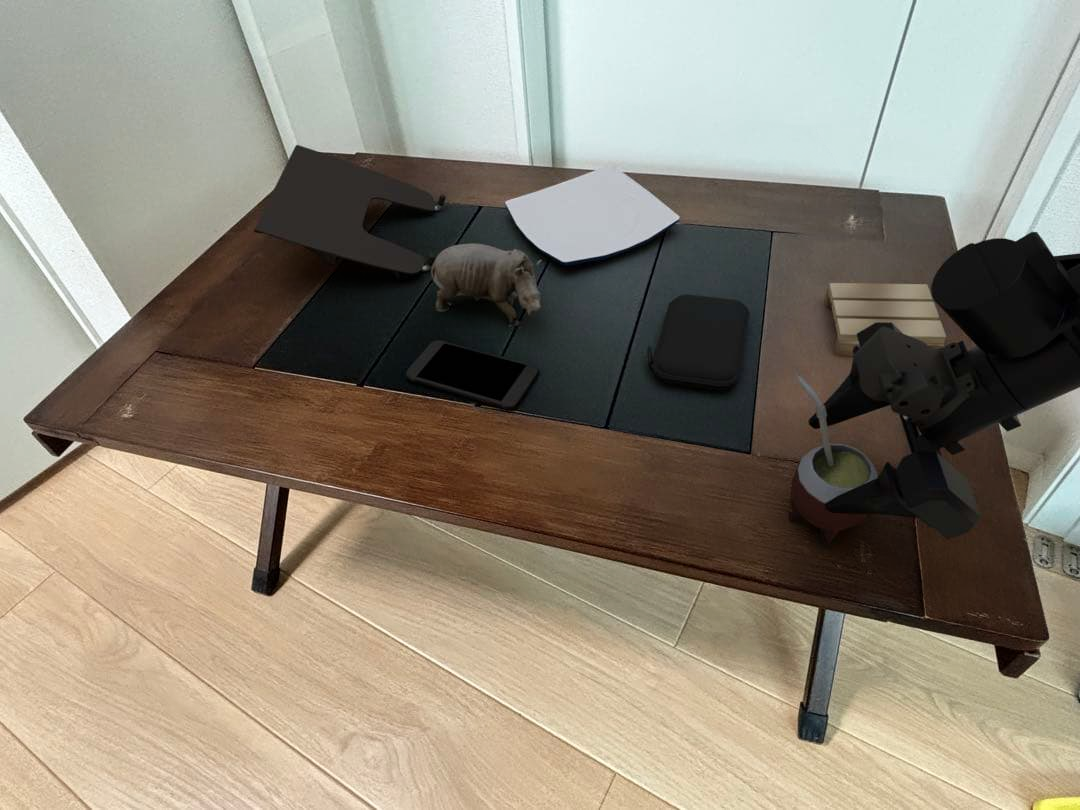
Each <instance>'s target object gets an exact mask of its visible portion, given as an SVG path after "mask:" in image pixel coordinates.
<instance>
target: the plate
mask: <svg viewBox="0 0 1080 810" xmlns="http://www.w3.org/2000/svg"><path fill="white" fill-rule="evenodd" d="M504 205H505V207H506V210H507V211H508V213H509V215H510V217H511V218H512V221H513V222H514V224H515V226H516V227H517V229H518V230H519V231H520V233H521V234H522V235H523V237H524V238H525V239H526V240H527V241H528V242H529V243H531V245H533V246H534V248H536V249H537V250H538V251H539V252H540V253H542V254H543V255H546V256H547V257H549V258H550V259H552V260H553V261H556V262H558V263H559V264H561V265H563V266H566V267H570V266H571V267H572V266H575V265H580V264H586V263H591V262H597V261H600V260H605V259H609V258H611V257H614V256H616V255H619V254H622V253H625V252H628V251H630V250H633V249H634V248H637V247H639V246H642V245H645V244H647V243H649V242H650V241H651V240H653V239H655V238H656V237H658V236H660V235H661V234H663V233H664V232H666V231H667V230H669V229H670V228H672V227H673V226H675V225H676V224H677V223H679V222H680V220H681V216H680V215H678V214H677V213H676V212H675V211H673V210H672V209H671V208H670V207H668V206H667V204H665V203H663V201H662V200H660V199H659V198H658V197H656V196H655V195H654V194H652V192H650V191H649V190H648V189H646V188H645V187H643V186H642V185H641V184H639V183H638V182H636V180H634V179H632V178H631V177H630V176H628V174H626V173H625V172H623V171H622V170H620V168H617V166H615V165H614V164H607V165H606V166H603V167H601V168H600V167H599V168H597V169H595V170H593V171H590V172H588V173H584V174H581V175H579V176H576V177H573V178H571V179H568V180H565V181H563V182H559V183H557V184H555V185H551V186H548V187H545V188H542V189H540V190H536V191H533V192H530V193H526V194H523V195H521V196H518V197H515V198H511V199H508V200H506V201H505V202H504Z"/></svg>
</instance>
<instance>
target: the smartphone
mask: <svg viewBox="0 0 1080 810" xmlns="http://www.w3.org/2000/svg"><path fill="white" fill-rule="evenodd" d="M539 375H540V369H539V367H538V366H537V365H535V364H531V363H527V362H524V361H520V360H516V359H513V358H510V357H505V356H502V355H498V354H495V353H491V352H486V351H482V350H478V349H475V348H472V347H468V346H463V345H460V344H456V343H453V342H449V341H444V340H440V339H438V340H433V341H431V342H430V343H429V344H428V345H427V346H426V347H425V349H424V350H423V351H422V352H421V353H420V354H419V355H418V357H417V358H416V359H415V360H414V362H412V363H411V365H410V366H409V367H408V368H407V370H406V371H405V378H406V379H407V380H408V381H410V382H413V383H417V384H420V385H423V386H425V387H430V388H433V389H437V390H440V391H443V392H446V393H449V394H453V395H456V396H460V397H464V398H467V399H470V400H473V401H477V402H480V403H484V404H488V405H491V406H495V407H497V408H501V409H505V410H513V409H515V408H517V407H518V406H519V404H520V403H521V402H522V400H523V399H524V397H525V396H526V394H527V393H528V391H529V390H530V388H531V387H532V386H533V383H535V381H536V380H537V378H538V376H539Z"/></svg>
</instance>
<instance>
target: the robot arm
mask: <svg viewBox="0 0 1080 810" xmlns="http://www.w3.org/2000/svg"><path fill="white" fill-rule="evenodd" d="M930 289H931V290H930V293H931V296H932V301H933V302H934V303H935V304H937V305H938V306H939V308H940V309H941V310H942V311H943V312H944V313H945V314H946V315H947V316H948V317H949V318H950V319H951V320H952V321H953V322H954V323H955V324H956V325H957V327H958V328H959V329H960V330H962V332H963V333H964V334H965V335H966V336H967V338H969V339H970V341H972V342H973V343H974V344H975V345H976V346H974V347H972V348H971V347H969V345H968V344H967V343H966V342H965V341H964V340H961V341H958V342H957V341H954V342H951V343H948V344H946V345H944V347H943V348H939V349H934V348H932V347H930V346H928V345H927V344H926V343H924V342H922V341H920V340H918V339H915V338H913V337H910V336H908V335H905V334H903V333H902V332H901V331H900V330H899V329H898V328H897V327H896V326H895V325H894V324H893V323H885V322H876V323H874V324H872V325H871V326H869V327H867V328H866V329H864V330H862V331H860V332H859V333H857V337H858V341H859V344H860V347H859V346H857V345H856V346H855V347H854V348H853V356H852V362H851V369H850V372H849V374H848V375H847V376H846V378H845V379H844V380H843V382H842V383H841V384H840V385H839V387H838V388H837V389H836V390H834V392H833V393H832V395H830V397H829V398H827V399H826V401H825V402H824V403H822V405H824V406H825V409H826V413H827V417H826V422H827V427H831V426H834V425H837V424H839V423H843V422H845V421H848V420H852V419H854V418H858V417H860V416H862V415H866V414H868V413H869V414H870V413H871V412H874V411H878V410H880V409H883V408H885V407H888V406H890V409H891V411H892V412H893V413H896V414H898V415H899V418H900V422H901V425H902V427H903V431H904V434H905V437H906V440H907V444H908V446H909V451H910V453H909V454H907V455H905V456H903V457H902V458H901V460H900V461H899V463H898V464H897V466H896V467H895V466H894V465H893V464H892V463H890V462H889V461H886V462H885V463H884V465H883V468H882V469H881V472H880V473H879V475H878V478H876V479H874V480H872V481H869V482H867V483H865V484H863V485H861V486H858V487H856V488H854V489H852V490H849V491H847V492H845V493H843V494H841V495H838V496H837V497H835V498H833V499H832V500H830V501H828V502H827V503H825V505H824V506H825V509H826V510H828V511H829V512H831V513H841V514H868V515H879V516H880V515H883V516H884V515H885V516H896V517H905V518H913V519H919V520H920V521H921V522H922V523H924V524H925V525H926V526H927V527H928V528H930V529H934V530H935V531H936V532H938V533H939V534H940V535H941V536H943V537H944V538H945V539H946V540H950V539H953V538H956V537H958V536H961V535H963V534H967V533H970V532H971V531H972V530H973V529H974V528H975V527H976V526H977V524H978V523H979V521H980V519H981V518H982V516H981V513H980V510H979V508H978V504H977V503H976V500H975V497H974V494H973V492H972V488H971V486H970V483H969V481H968V479H967V478H966V477H965V476H964V475H963V474H962V473H961V472H960V471H958V470H957V469H956V468H955V467H954V466H953V465H952V464H951V463H949V462H948V460H946V459H945V458H944V457H943V455H942V453H941V452H942V451H941V449H942V448H943V449H945V450H946V451H947V452H948V453H949V454H951V456H954V455H956V454H959V453H962V452H964V451H966V447H965V445H964V444H965V443H964V442H963V440H964V439H967V438H968V437H969V438H970V437H971V436H973V435H975V434H978V433H980V432H982V431H985V430H987V429H990V428H991V427H994V426H996V425H1000V426H1001V427H1002V428H1003V429H1004V430H1005V432H1007V433H1008V432H1010V431H1013V430H1015V429H1018V428H1019V427H1022V423H1021V421H1020V419H1019V417H1018V416H1019V415H1020V414H1023V413H1025V412H1027V411H1030V410H1032V409H1034V408H1036V407H1038V406H1041V405H1043V404H1045V403H1048V402H1050V401H1052V400H1054V399H1057V398H1059V397H1061V396H1063V395H1066V394H1069V393H1070V392H1073V391H1075V390H1078V389H1079V388H1080V252H1079V253H1070V254H1069V253H1068V254H1061V255H1054V254H1053V253H1052V251H1051V250H1050V248H1049V247H1048V245H1047V243H1046V242H1045V241H1044V239H1043V238H1042V236H1041V235H1040V234H1039V233H1038V232H1037V231H1031V232H1029V233H1028V234H1026V235H1024V236H1022V237H1020V238H1019V239H1016V240H1014V239H1009V238H1006V237H998V238H997V237H996V238H990V239H984V240H981V241H979V242H976V243H973V242H971V243H968V244H966V245H965V246H962V247H960V248H959V249H958V250H957V251H955V252H953V254H951V255H950V256H949V257H947V259H946V260H945V261H944V262H943V263H942V264H941V266H940V267H939V268H938V269H937V271H936V273H935V275H934V276H933V279H932V282H931V285H930ZM807 422H808V425H809V426H810V427H811V428H812V429H814V430H818V429H821V428H820V422H819V418H817V414H816V412H814V414H813V415H812V416H811V417H810V418H808V421H807Z"/></svg>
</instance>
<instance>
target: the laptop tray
mask: <svg viewBox="0 0 1080 810" xmlns="http://www.w3.org/2000/svg"><path fill="white" fill-rule="evenodd" d="M446 198H447V196H446V194H443V193H442V194H441V193H440V195H439V198H438V201H437V205H436V200H435V198H434V196H433V195H432V194H431V193H430V192H427V191H426V190H423V189H421V188H419V187H417V186H414V185H411V184H409V183H407V182H405V181H402V180H400V179H397V178H394V177H391V176H389V175H387V174H384V173H381V172H378V171H377V170H372V169H370V168H367V167H365V166H363V165H360V164H356V163H353V162H350V161H348V160H345V159H343V158H339V157H336V156H332V155H330V154H326V153H324V152H321V151H317V150H315V149H312V148H308V147H305V146H302V145H300V144H296V145H295V146H294V148H293V150H292V152H291V154H290V156H289V158H288V160H287V162H286V164H285V166H284V169H283V170H282V172H281V175H280V176H279V178H278V180H277V182H276V185H275V186H274V189H273V190H272V193H271V194H270V196H269V198H268V201H267V202H266V204H265V206H264V209H263V210H262V212H261V214H260V216H259V219H258V221H256V225H255V227H254V228H253V232H254V234H255V233H256V234H263V235H267V236H269V237H273V238H276V239H278V240H282V241H285V242H288V243H291V244H295V245H298V246H301V247H302V248H305V249H306V250H308V251H310V252H312V253H313V254H314V255H316V256H317V257H319V258H320V259H321V260H323V261H324V262H326V263H327V264H329V265H330V266H334V265H335V264H336V257H337V258H341V259H344V260H348V261H352V262H355V263H358V264H362V265H367V266H370V267H375V268H378V269H382V270H385V271H386V270H387V271H391V273H392V274H394V275H395V276H396V277H397V279H403V278H404V279H408V277H409V275H413V276H414V275H417V274H419V273H420V272H429V271H431V269H432V266H433V264H434V262H435V260H436V258H437V256H436V254H434V253H429V254H428V257H427V260H426V258H425V257H424V256H423V255H421V254H419V253H417V252H415V251H412V250H410V249H409V248H408V249H407V248H405V247H403V246H401V245H398V244H396V243H394V242H391V241H389V240H385V239H383V238H381V237H378V236H375V235H373V234H371V233H368V232H367V231H366V230H365V229H364V226H363V224H364V221H365V220H364V219H365V216H366V214H367V211H368V207H369V205H370V202H372V201H373V200H380V201H381V200H382V201H385V202H389V203H392V204H396V205H399V206H404V207H408V208H412V209H417V210H421V211H425V212H431V213H432V212H440V211H441V210H442V209H443V207H444V204H445V202H446ZM425 262H426V263H425Z"/></svg>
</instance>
